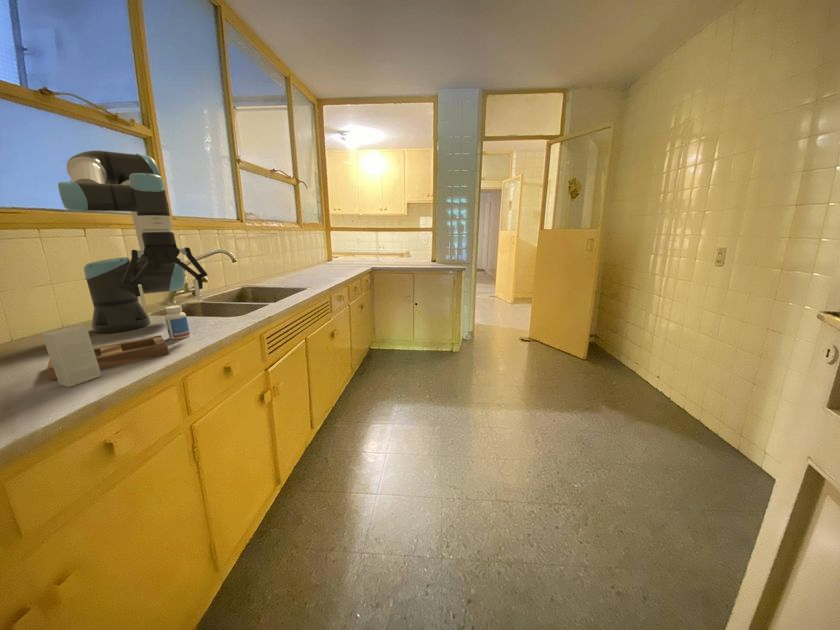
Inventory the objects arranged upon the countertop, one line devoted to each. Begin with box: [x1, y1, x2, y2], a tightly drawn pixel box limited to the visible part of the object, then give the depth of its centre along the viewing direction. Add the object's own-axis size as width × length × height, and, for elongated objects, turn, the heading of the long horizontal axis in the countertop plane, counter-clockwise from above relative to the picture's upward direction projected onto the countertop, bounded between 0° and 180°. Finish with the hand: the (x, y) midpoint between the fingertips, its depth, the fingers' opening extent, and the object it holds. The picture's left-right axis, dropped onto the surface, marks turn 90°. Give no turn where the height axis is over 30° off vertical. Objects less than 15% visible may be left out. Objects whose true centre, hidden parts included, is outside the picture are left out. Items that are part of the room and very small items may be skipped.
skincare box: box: [41, 325, 102, 388], centre depth 74 cm, size 6×4×12 cm
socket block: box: [46, 335, 170, 381], centre depth 86 cm, size 11×22×3 cm, turn 134°
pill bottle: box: [164, 304, 191, 340], centre depth 103 cm, size 6×5×10 cm
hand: (173, 303), depth 101 cm, fingers open, 13 cm apart
